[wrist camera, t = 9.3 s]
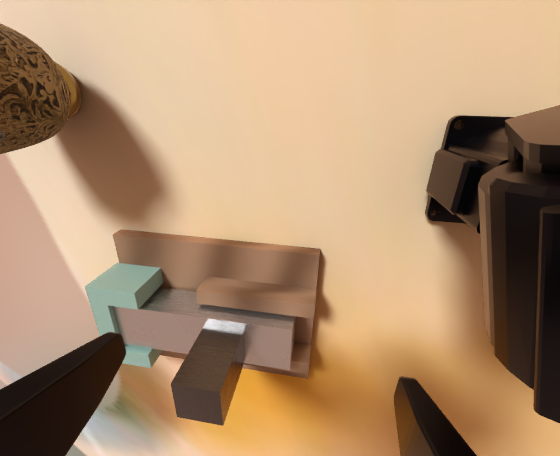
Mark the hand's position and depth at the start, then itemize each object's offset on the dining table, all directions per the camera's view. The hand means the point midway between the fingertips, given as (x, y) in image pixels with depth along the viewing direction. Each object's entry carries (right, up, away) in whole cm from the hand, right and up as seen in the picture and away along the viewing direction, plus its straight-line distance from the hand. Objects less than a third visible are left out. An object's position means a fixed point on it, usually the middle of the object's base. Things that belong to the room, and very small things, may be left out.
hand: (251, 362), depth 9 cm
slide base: (-4, -3, +16) cm, 17 cm away
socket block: (-11, -2, +17) cm, 20 cm away
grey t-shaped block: (-5, -3, +15) cm, 16 cm away
